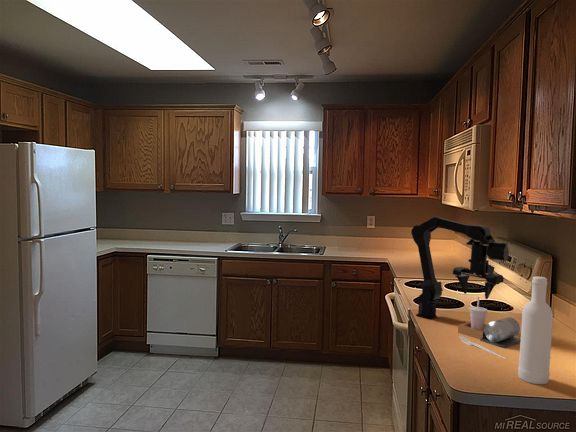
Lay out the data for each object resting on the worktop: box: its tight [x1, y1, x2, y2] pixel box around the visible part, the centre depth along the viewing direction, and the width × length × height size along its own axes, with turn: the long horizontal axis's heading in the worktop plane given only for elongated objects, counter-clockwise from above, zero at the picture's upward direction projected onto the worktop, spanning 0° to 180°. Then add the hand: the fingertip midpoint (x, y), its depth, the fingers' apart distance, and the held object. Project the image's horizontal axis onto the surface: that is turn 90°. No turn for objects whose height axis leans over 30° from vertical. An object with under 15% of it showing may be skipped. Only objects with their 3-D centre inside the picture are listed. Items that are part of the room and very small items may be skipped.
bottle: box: [517, 275, 554, 385], centre depth 132 cm, size 8×8×30 cm
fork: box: [458, 334, 508, 360], centre depth 157 cm, size 3×20×2 cm, turn 24°
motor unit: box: [457, 316, 521, 349], centre depth 169 cm, size 19×13×8 cm
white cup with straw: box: [469, 296, 488, 331], centre depth 173 cm, size 6×6×14 cm
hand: (475, 296), depth 180 cm, fingers open, 9 cm apart
